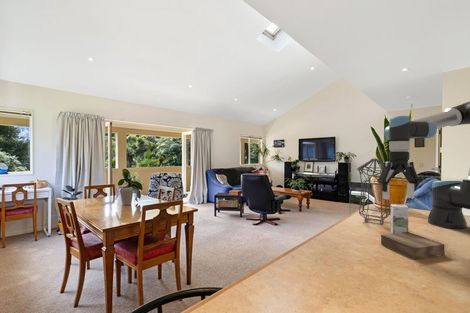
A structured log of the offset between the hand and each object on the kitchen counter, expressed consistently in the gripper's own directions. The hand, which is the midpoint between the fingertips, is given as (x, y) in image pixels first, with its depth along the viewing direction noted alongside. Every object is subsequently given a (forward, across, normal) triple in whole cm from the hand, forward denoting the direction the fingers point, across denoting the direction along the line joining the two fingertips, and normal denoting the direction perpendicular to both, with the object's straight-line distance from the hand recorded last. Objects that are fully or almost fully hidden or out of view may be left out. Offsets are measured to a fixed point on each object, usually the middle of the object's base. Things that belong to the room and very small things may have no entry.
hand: (398, 198), depth 104 cm
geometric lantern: (+18, -8, -21) cm, 29 cm away
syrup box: (+18, 0, 0) cm, 18 cm away
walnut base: (+17, +8, +12) cm, 22 cm away
